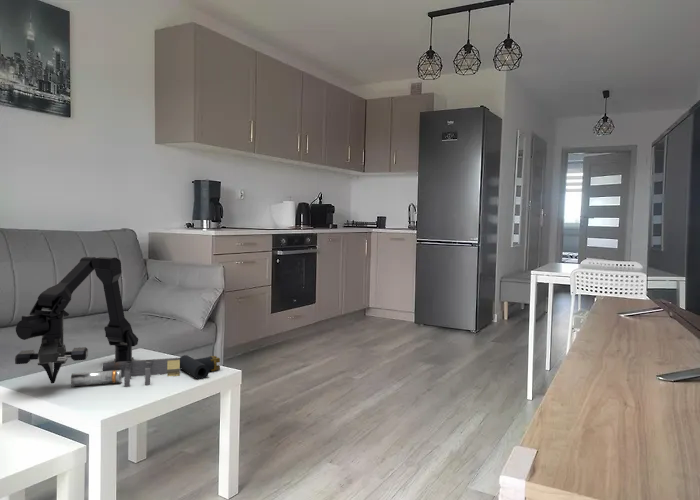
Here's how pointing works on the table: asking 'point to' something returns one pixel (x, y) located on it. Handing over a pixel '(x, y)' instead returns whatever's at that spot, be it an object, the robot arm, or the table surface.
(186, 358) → the pipe connector
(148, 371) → the twin upright pegs
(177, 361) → the gray rectangular bar
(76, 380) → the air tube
